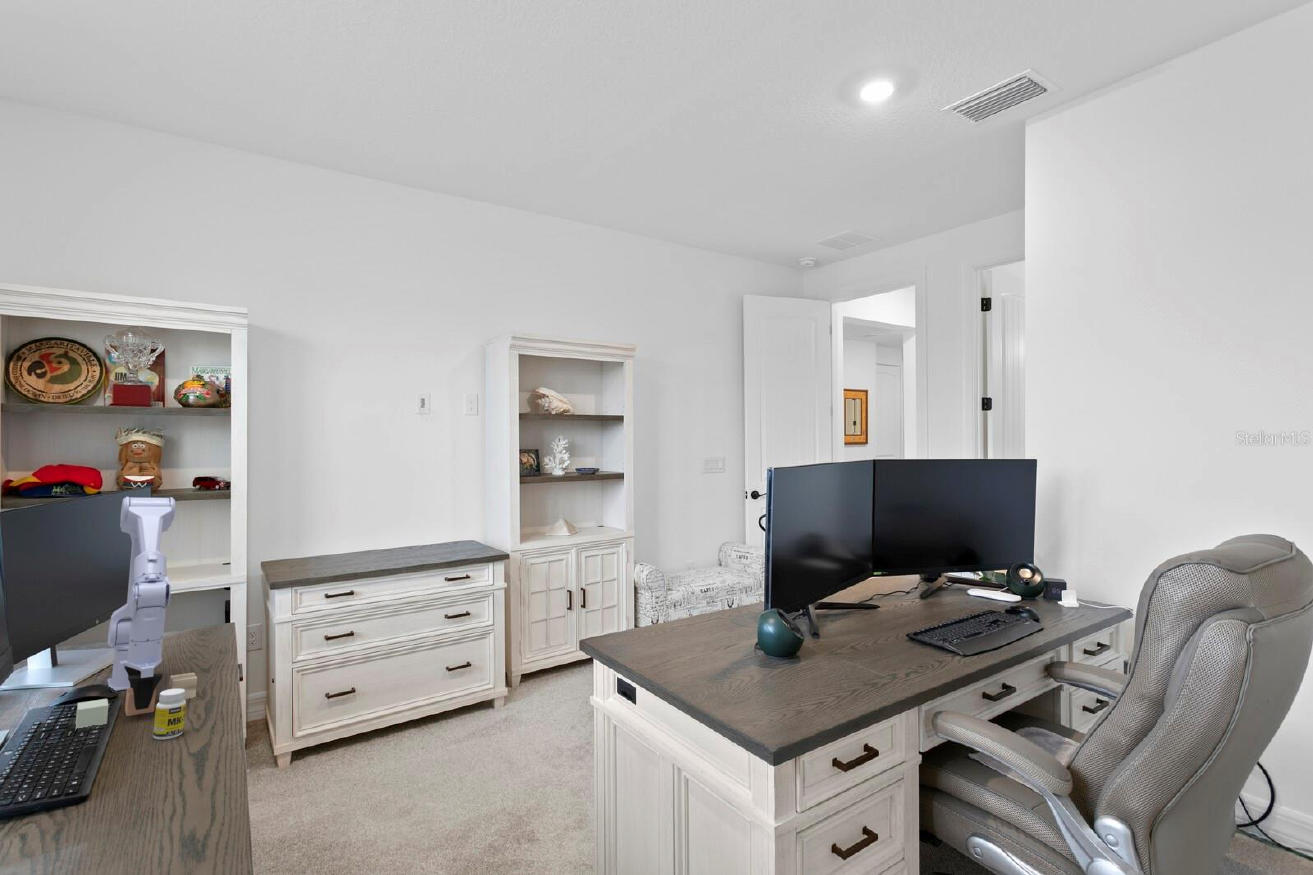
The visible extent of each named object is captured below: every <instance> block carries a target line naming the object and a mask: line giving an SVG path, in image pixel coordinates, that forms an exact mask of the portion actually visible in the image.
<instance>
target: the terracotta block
mask: <svg viewBox="0 0 1313 875" xmlns="http://www.w3.org/2000/svg"><path fill="white" fill-rule="evenodd" d="M156 693H157V689H155V690H154V693H153V696H152V699H151V702H150V705H149V707H148V708H146V709H140V710H136V708H135V704H134V693H133V688H128V689H126V693H125V704H124V712H125V715H126V717H131V716H136V715H143V714H148V713H149V714H150V713H153V712H155V706H156V703H155V702H156Z"/></svg>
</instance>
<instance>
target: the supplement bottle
mask: <svg viewBox="0 0 1313 875" xmlns="http://www.w3.org/2000/svg"><path fill="white" fill-rule="evenodd" d="M184 696H185V690H184V689H169V688H168V689H165V690H163V691H161V692H160V693H159V698H158V700H159V702H158V703H157V704H155V711H154V712H155V714H154V722H153V730H152V737H153V739H155V740H158V741H159V740H162V741H163V740H172V739H176V738H178V737H179V736H181V735H182V734H183V733H184V725H185V717H186V716H185V715H186V707H187V706H186V705H187V701H186V699H183V698H184Z"/></svg>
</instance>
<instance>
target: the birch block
mask: <svg viewBox="0 0 1313 875" xmlns="http://www.w3.org/2000/svg"><path fill="white" fill-rule="evenodd" d="M168 683H169V687H168V690H169V689H184V690H185V696H184V698H183V699H185V700H190V699H194V698H193V697H197V688H198V687H197V686H198V677H197V675H196V673H195V672H188V673H181V674H175V675H169V682H168ZM189 698H190V699H189Z"/></svg>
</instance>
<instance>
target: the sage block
mask: <svg viewBox="0 0 1313 875" xmlns="http://www.w3.org/2000/svg"><path fill="white" fill-rule="evenodd" d="M109 705H110V704H109V700H108V698H102V699H97V700H89V701H81V702H77V705H76V706H77V707H76V714H75V724H76V727H75V730H76V729H77V728H83V727H88V726H92V725H103V724H107V723H108V716H109ZM107 725H108V724H107Z"/></svg>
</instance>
